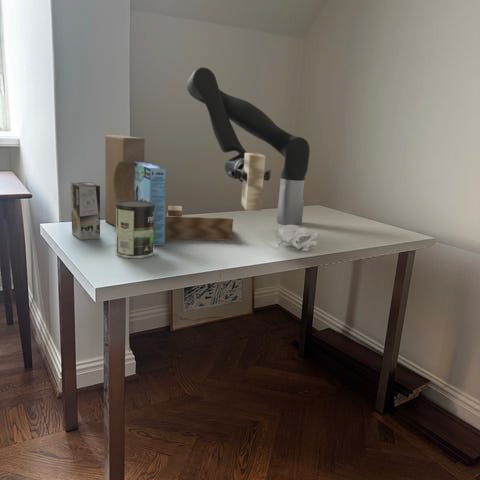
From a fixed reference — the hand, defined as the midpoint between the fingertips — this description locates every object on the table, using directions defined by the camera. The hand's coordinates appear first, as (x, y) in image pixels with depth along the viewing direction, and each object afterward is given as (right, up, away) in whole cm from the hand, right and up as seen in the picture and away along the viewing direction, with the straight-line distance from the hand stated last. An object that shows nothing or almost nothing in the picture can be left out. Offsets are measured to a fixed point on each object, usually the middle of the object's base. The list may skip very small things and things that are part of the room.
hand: (254, 177), depth 137 cm
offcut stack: (-26, -16, +18) cm, 36 cm away
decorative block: (-44, -14, +24) cm, 52 cm away
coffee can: (-34, -22, -8) cm, 41 cm away
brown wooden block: (-19, -16, +19) cm, 31 cm away
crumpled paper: (+13, -21, +10) cm, 27 cm away
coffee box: (-52, -17, +7) cm, 55 cm away
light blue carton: (-33, -18, +10) cm, 39 cm away
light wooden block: (-1, -9, +5) cm, 10 cm away
